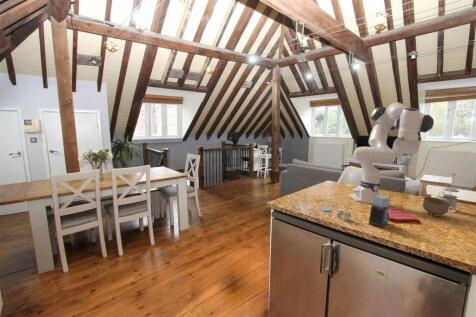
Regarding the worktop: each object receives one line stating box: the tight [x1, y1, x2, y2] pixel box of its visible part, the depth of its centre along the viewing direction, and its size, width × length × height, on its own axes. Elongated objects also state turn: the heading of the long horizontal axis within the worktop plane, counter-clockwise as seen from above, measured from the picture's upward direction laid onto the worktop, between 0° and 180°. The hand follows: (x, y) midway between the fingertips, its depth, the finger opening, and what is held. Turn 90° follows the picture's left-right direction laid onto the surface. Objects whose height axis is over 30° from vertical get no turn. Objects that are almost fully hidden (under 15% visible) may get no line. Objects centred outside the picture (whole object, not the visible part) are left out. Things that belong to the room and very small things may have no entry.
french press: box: [436, 172, 460, 210], centre depth 157 cm, size 10×12×25 cm
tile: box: [317, 206, 333, 213], centre depth 150 cm, size 6×6×1 cm
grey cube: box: [373, 194, 390, 208], centre depth 129 cm, size 5×5×5 cm
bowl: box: [422, 196, 450, 216], centre depth 147 cm, size 13×13×10 cm
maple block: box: [336, 208, 352, 222], centre depth 136 cm, size 5×5×5 cm
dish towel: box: [371, 204, 421, 223], centre depth 145 cm, size 17×24×3 cm
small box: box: [368, 204, 391, 228], centre depth 130 cm, size 11×6×10 cm, turn 129°
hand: (403, 161), depth 134 cm, fingers open, 8 cm apart
